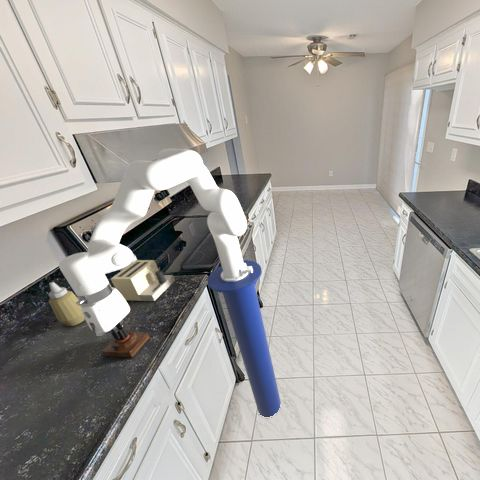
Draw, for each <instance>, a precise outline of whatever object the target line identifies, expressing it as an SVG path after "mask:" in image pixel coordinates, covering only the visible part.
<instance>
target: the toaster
mask: <svg viewBox="0 0 480 480" xmlns="http://www.w3.org/2000/svg"><path fill="white" fill-rule="evenodd" d="M157 271H160V269H159V267H158V265H157V263H156V260H154V259H137V260H136V261H135V262H133V263H132V264H130V265H129V266H128V267H126V268H125V269H123V270H122V271H120V272H118V273H116V274H114V276H113V277H110V281H111V282H112V284H113V287H114V288H116V289H117V290H118V291H119V292H120V294H121V295H122V296H123V297H124V299H125V300H126V301H136V302H137V301H139V302H141V301H143V302H155V301H156V300H157V299H158V298H159V297H160V296H161V295H162V294H164V292H165V291H167V289H168V288H170V286H171V285H172V284H174V282H175V281H176V279H175V277H174V275H173V274H163V275H164V277H165V280H166V281H165V282H164V283H161V284H160V283H159V281H158V279H157V277H156V274H155V273H156V272H157Z"/></svg>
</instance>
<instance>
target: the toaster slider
mask: <svg viewBox="0 0 480 480" xmlns="http://www.w3.org/2000/svg"><path fill="white" fill-rule="evenodd" d="M155 274H156V277H157V279H158V281H159V283H160V284H161V283H164V282H165V281H166V280H165V277H164V275H165V274H164V273H163V271H162V270H159V271H157V272H156V273H155Z"/></svg>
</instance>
